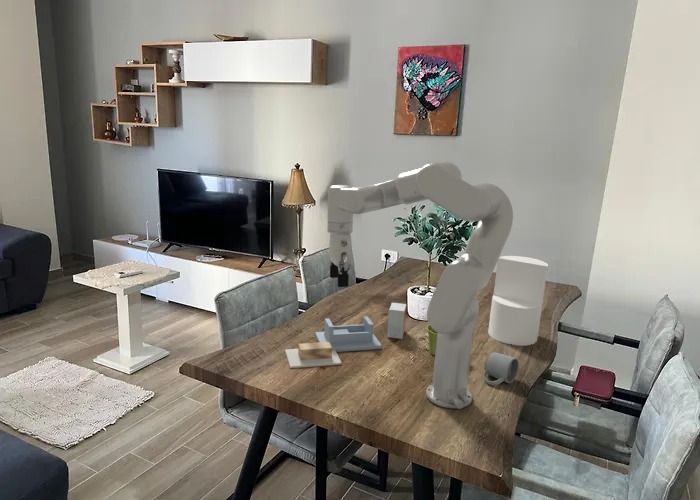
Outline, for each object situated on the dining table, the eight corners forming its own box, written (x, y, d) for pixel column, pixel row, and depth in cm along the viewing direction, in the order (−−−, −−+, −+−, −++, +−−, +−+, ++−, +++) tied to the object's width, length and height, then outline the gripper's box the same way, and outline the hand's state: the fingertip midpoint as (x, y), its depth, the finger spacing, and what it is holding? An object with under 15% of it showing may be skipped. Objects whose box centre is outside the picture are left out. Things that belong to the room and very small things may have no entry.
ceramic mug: (493, 369, 162) (496, 346, 160) (517, 378, 156) (520, 355, 154) (476, 380, 154) (478, 357, 152) (501, 390, 149) (503, 366, 147)
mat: (341, 364, 160) (341, 362, 159) (290, 368, 156) (290, 366, 155) (333, 347, 171) (333, 346, 171) (285, 351, 167) (285, 349, 167)
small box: (402, 339, 180) (404, 311, 178) (386, 337, 181) (388, 309, 179) (404, 330, 188) (407, 303, 185) (389, 329, 189) (391, 302, 186)
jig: (369, 332, 185) (370, 312, 183) (381, 348, 172) (383, 327, 170) (315, 335, 180) (315, 315, 178) (323, 352, 167) (323, 331, 165)
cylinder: (495, 322, 200) (504, 253, 193) (541, 333, 192) (552, 261, 185) (482, 337, 185) (491, 262, 179) (531, 349, 177) (542, 272, 170)
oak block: (328, 351, 166) (329, 341, 166) (331, 357, 162) (332, 347, 161) (298, 353, 164) (298, 343, 163) (300, 360, 160) (300, 349, 159)
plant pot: (431, 360, 165) (433, 335, 163) (420, 348, 174) (422, 324, 172) (457, 358, 168) (460, 333, 166) (445, 346, 177) (447, 322, 175)
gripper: (360, 232, 146) (358, 289, 150) (344, 221, 162) (343, 273, 166) (334, 233, 144) (333, 291, 148) (321, 222, 160) (320, 274, 164)
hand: (338, 281), depth 157 cm, fingers open, 9 cm apart
